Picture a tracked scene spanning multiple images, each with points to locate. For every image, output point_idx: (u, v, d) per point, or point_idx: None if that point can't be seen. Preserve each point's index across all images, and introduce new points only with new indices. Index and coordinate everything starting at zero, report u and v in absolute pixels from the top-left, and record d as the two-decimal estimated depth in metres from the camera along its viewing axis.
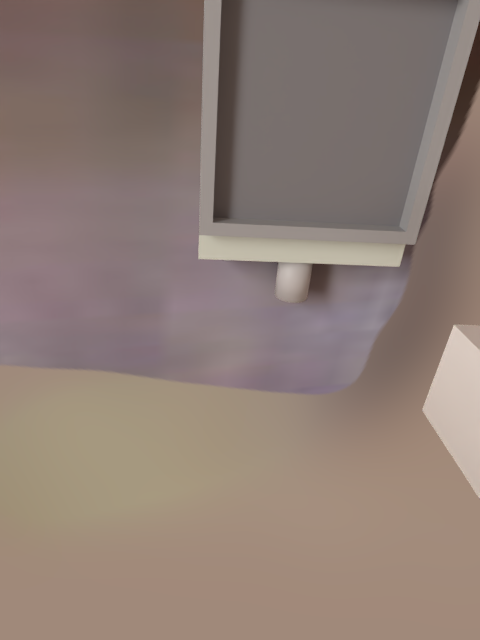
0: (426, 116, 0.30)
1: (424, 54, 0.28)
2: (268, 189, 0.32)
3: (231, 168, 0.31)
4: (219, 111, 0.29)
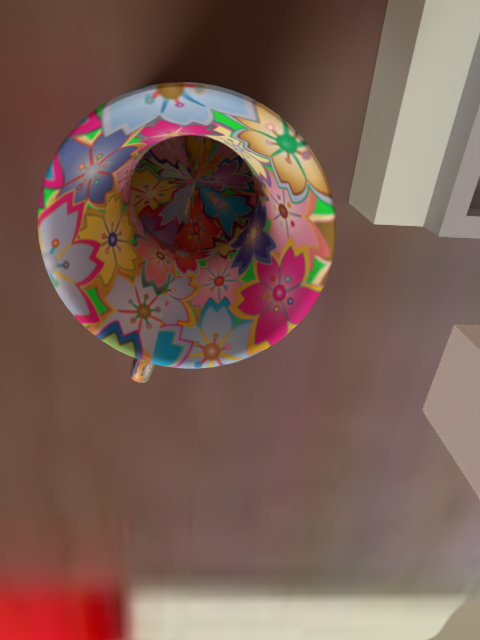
0: None
1: None
2: None
3: None
4: None
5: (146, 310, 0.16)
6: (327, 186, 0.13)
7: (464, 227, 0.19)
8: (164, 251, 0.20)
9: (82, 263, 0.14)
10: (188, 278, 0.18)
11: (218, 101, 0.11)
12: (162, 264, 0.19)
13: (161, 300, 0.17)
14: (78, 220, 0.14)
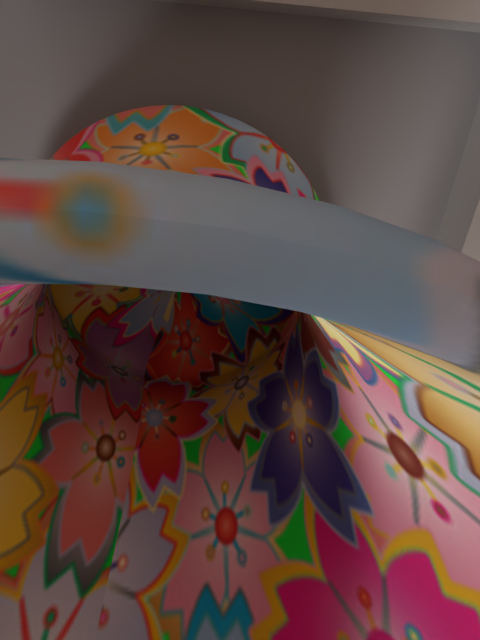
0: (170, 7, 0.10)
1: (14, 57, 0.10)
2: None
3: None
4: None
5: None
6: None
7: None
8: (116, 425, 0.10)
9: None
10: (161, 510, 0.09)
11: (241, 284, 0.02)
12: (107, 477, 0.09)
13: (90, 613, 0.07)
14: None
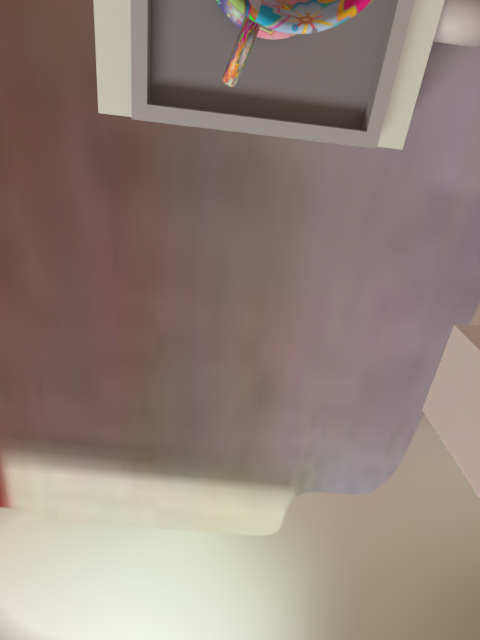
0: None
1: None
2: (343, 58, 0.28)
3: (314, 103, 0.30)
4: (259, 113, 0.30)
5: None
6: None
7: (148, 113, 0.28)
8: None
9: None
10: None
11: None
12: None
13: None
14: None
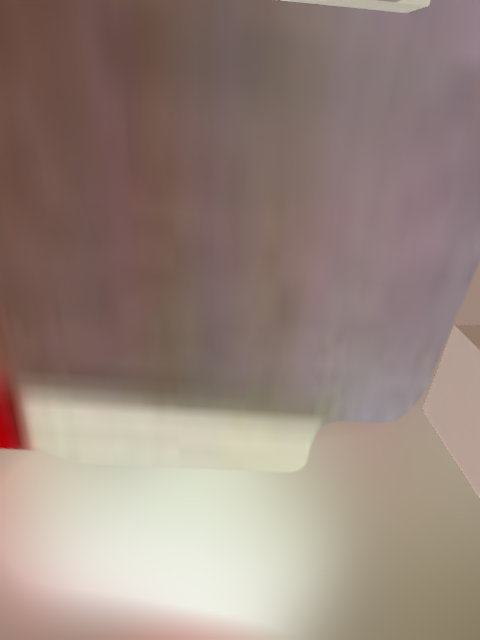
0: None
1: None
2: None
3: None
4: None
5: None
6: None
7: None
8: None
9: None
10: None
11: None
12: None
13: None
14: None
